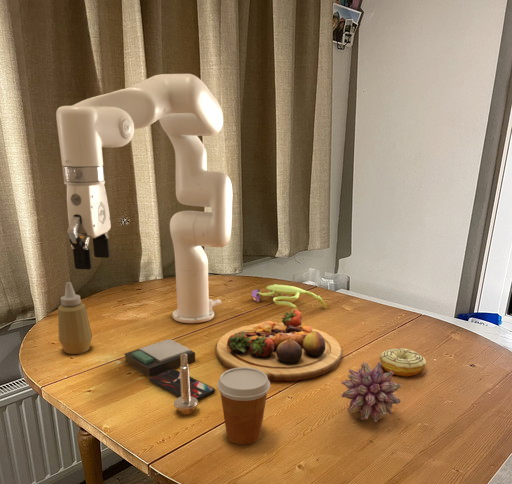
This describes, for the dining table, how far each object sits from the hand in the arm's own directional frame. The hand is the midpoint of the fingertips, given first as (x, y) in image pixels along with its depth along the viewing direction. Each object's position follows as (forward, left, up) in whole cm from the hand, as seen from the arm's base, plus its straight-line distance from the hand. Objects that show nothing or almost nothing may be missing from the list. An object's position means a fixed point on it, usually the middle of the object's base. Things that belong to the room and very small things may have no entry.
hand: (93, 262), depth 102 cm
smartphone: (-11, +13, -28) cm, 32 cm away
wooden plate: (-40, +15, -28) cm, 51 cm away
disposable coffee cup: (-9, +36, -28) cm, 46 cm away
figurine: (-70, -10, -28) cm, 76 cm away
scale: (-15, -1, -28) cm, 31 cm away
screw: (-6, +22, -28) cm, 36 cm away
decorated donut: (-56, +41, -28) cm, 75 cm away
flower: (-32, +48, -28) cm, 64 cm away
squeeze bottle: (-3, -21, -28) cm, 35 cm away
